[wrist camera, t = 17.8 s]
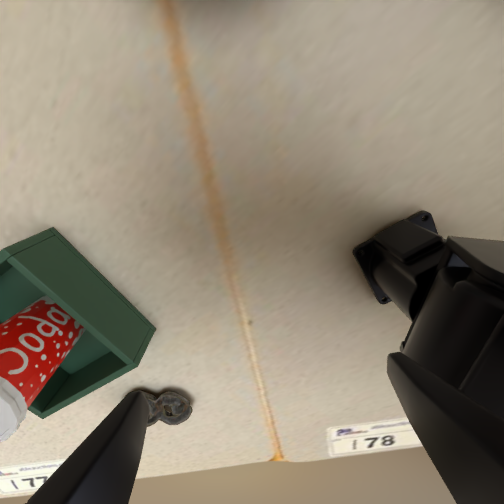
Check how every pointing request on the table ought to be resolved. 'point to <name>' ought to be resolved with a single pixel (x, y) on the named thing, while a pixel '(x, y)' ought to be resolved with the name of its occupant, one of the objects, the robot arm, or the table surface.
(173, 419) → the corroded twin loop
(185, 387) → the table surface
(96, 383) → the square green tray
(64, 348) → the beverage cup
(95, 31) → the table surface
